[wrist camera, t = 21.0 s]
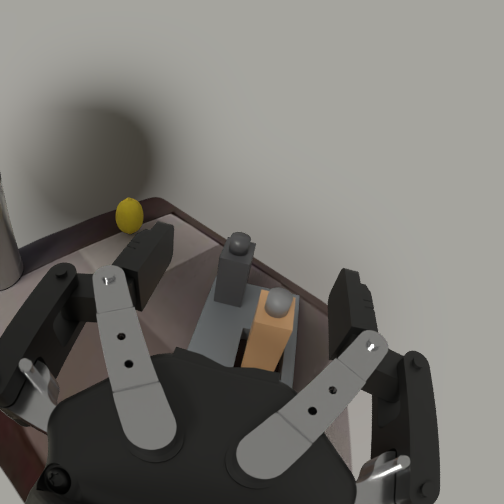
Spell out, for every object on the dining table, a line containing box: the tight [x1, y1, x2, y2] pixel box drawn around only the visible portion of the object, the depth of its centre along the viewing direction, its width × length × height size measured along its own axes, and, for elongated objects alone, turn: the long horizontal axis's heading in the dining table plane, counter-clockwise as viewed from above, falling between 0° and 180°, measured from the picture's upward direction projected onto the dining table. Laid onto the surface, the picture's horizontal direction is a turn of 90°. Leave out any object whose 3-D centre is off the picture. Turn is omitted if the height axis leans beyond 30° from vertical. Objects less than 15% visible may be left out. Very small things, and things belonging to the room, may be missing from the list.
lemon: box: [116, 198, 143, 234], centre depth 53 cm, size 6×6×8 cm
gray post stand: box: [187, 232, 299, 388], centre depth 38 cm, size 14×17×12 cm
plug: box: [241, 287, 296, 372], centre depth 34 cm, size 4×5×13 cm
